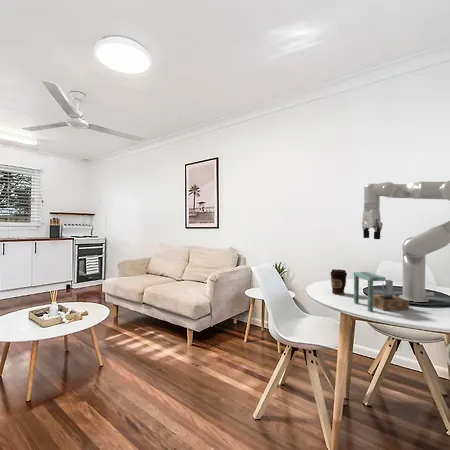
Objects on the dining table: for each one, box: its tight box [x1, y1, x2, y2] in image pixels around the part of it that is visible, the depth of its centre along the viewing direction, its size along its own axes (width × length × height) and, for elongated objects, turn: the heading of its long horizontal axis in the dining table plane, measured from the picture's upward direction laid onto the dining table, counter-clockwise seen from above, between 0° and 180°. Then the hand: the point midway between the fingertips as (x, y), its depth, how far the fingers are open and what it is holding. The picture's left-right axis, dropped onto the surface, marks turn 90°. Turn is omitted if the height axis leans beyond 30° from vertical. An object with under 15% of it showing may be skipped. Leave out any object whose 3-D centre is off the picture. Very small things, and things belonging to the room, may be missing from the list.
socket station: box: [353, 271, 410, 312], centre depth 133 cm, size 19×13×15 cm
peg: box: [382, 279, 394, 300], centre depth 134 cm, size 4×4×12 cm
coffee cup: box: [330, 268, 348, 296], centre depth 157 cm, size 9×8×13 cm
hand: (371, 238), depth 155 cm, fingers open, 9 cm apart
